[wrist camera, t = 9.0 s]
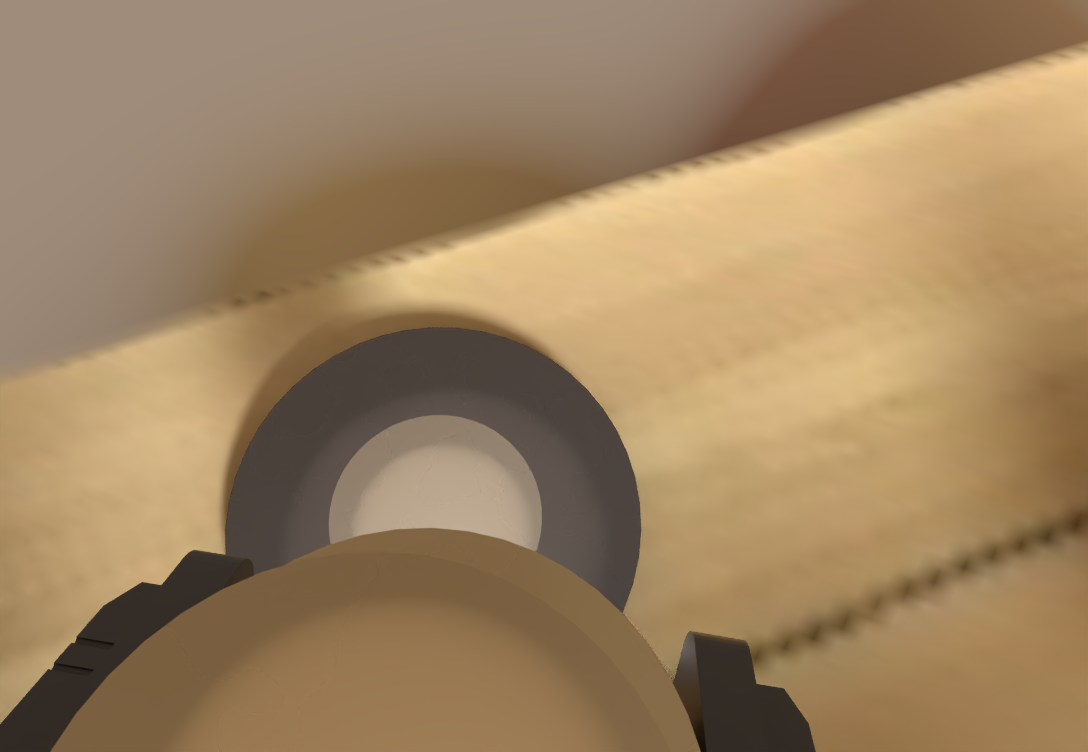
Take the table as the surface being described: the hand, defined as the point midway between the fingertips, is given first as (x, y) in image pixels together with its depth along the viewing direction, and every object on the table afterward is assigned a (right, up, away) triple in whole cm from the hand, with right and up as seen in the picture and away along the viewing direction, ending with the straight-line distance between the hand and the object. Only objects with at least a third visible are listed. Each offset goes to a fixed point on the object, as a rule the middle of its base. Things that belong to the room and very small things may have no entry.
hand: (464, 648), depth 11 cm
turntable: (-3, -2, +18) cm, 19 cm away
